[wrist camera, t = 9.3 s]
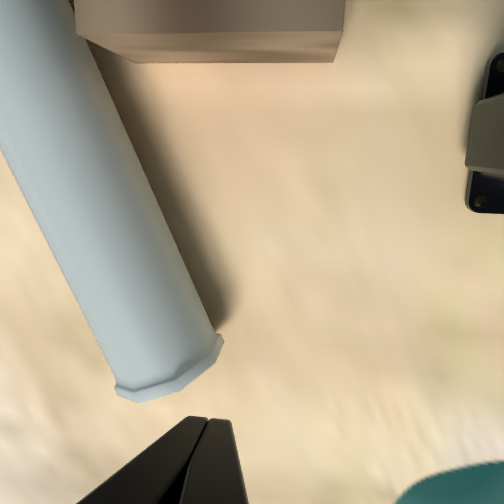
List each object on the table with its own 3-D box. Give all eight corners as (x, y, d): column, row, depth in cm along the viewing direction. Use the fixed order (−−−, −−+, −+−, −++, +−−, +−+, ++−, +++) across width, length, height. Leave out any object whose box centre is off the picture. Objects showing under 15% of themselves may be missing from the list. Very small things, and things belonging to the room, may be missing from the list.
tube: (-205, -177, 15) (99, 406, 19) (-158, -319, 12) (183, 401, 16) (-49, -114, 19) (166, 346, 24) (10, -206, 16) (241, 334, 21)
